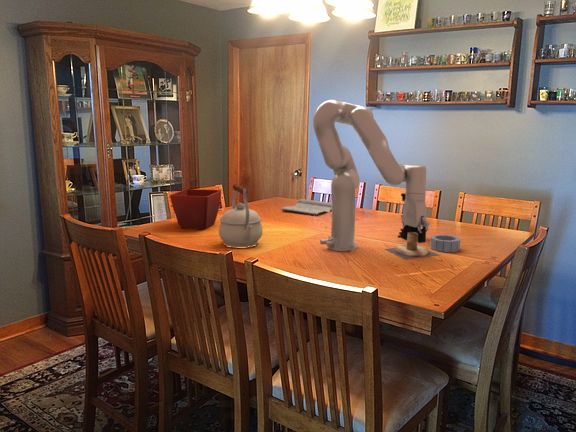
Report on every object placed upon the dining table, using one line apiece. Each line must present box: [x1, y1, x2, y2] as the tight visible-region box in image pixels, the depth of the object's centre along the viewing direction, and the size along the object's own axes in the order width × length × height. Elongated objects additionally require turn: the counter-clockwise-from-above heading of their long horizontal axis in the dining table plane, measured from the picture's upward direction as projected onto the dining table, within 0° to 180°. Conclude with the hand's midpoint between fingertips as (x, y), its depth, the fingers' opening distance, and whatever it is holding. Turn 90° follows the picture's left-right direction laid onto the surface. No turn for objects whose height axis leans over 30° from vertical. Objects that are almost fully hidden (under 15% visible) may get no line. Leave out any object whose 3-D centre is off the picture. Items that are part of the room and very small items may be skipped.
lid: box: [394, 232, 430, 257], centre depth 196 cm, size 13×13×8 cm
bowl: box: [429, 234, 461, 253], centre depth 202 cm, size 11×11×5 cm
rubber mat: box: [384, 247, 440, 260], centre depth 197 cm, size 16×15×1 cm
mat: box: [281, 198, 332, 217], centre depth 281 cm, size 23×24×5 cm
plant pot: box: [169, 188, 222, 230], centre depth 240 cm, size 19×19×17 cm
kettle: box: [218, 183, 264, 247], centre depth 205 cm, size 25×18×25 cm
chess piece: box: [397, 192, 419, 241], centre depth 217 cm, size 8×8×20 cm
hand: (414, 239), depth 195 cm, fingers open, 9 cm apart
